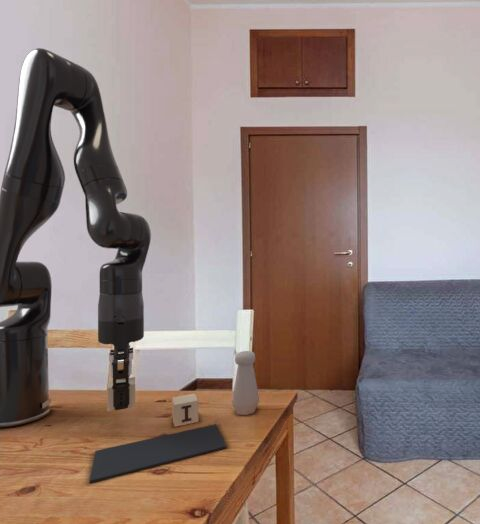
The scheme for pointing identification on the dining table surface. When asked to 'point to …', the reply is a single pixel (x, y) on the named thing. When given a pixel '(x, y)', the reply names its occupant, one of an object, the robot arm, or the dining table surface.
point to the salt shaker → (245, 384)
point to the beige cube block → (185, 409)
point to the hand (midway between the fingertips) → (121, 403)
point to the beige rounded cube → (130, 394)
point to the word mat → (155, 452)
